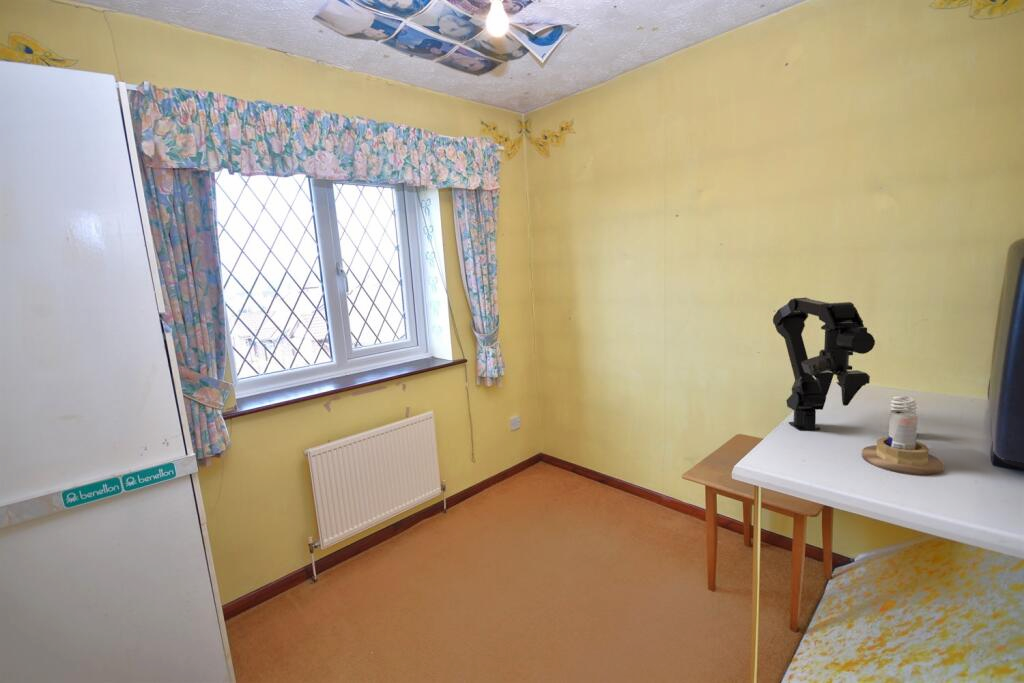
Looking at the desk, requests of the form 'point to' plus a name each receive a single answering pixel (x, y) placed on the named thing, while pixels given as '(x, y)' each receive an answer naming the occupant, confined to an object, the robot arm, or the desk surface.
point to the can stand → (903, 459)
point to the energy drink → (902, 429)
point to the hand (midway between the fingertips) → (834, 400)
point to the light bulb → (899, 403)
